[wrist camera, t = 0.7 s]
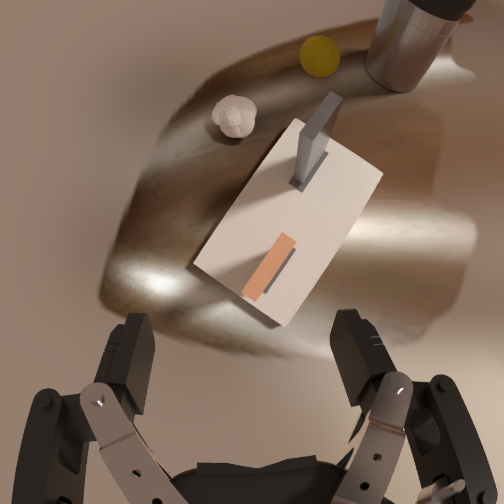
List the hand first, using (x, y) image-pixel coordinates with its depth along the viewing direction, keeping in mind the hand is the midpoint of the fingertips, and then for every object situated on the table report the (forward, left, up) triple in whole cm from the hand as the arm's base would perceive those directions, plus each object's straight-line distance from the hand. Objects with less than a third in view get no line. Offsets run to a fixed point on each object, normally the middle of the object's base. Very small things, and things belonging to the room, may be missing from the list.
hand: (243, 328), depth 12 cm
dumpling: (-16, -16, -23) cm, 32 cm away
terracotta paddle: (-3, -1, -21) cm, 21 cm away
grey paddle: (-15, -4, -21) cm, 26 cm away
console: (-9, -2, -23) cm, 24 cm away
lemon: (-30, -11, -23) cm, 39 cm away
